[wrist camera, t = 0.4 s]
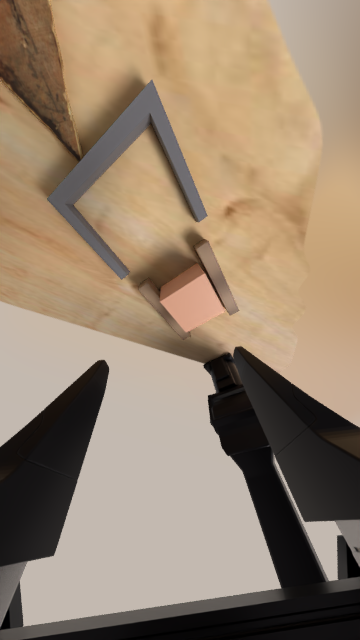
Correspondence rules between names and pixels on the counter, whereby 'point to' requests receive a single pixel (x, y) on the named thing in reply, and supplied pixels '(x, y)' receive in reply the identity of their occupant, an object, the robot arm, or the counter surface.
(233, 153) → the counter surface
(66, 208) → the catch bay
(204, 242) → the wooden blocks
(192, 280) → the terracotta block
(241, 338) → the counter surface
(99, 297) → the counter surface
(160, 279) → the counter surface
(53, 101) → the shard
